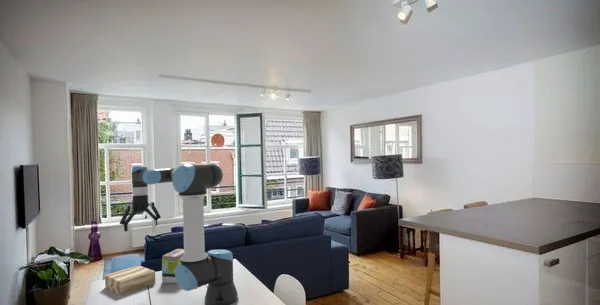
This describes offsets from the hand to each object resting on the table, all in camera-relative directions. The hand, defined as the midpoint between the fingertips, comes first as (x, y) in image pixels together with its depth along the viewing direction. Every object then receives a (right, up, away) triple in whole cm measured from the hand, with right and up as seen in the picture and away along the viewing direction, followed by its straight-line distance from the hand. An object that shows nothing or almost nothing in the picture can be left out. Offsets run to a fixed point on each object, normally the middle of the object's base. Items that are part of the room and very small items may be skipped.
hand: (141, 234), depth 170 cm
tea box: (+15, -28, +11) cm, 33 cm away
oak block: (-7, -29, +2) cm, 29 cm away
